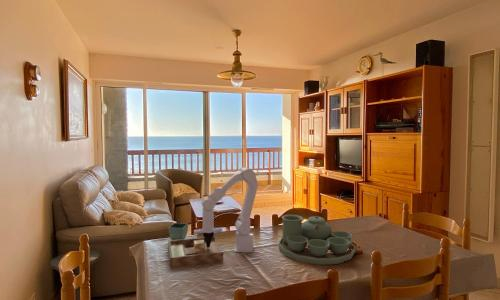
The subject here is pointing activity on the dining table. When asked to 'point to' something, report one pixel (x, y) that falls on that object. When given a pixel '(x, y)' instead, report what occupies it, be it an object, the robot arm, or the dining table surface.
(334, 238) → the tea set
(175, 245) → the walnut box
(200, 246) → the maple block
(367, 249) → the dining table surface
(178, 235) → the flower pot
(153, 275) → the dining table surface
